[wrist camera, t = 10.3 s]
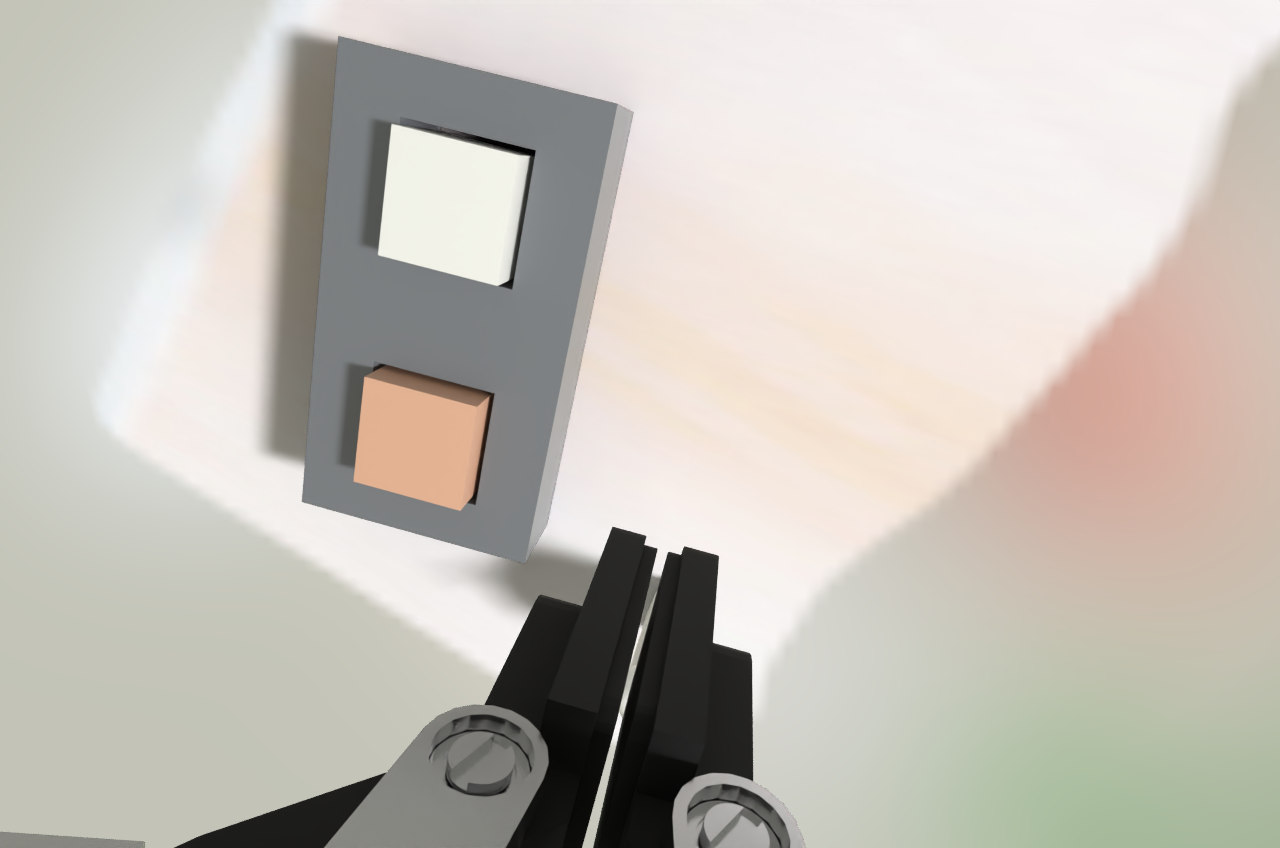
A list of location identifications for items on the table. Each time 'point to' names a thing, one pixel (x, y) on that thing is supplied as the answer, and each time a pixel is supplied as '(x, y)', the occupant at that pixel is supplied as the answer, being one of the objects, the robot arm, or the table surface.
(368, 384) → the clay key
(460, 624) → the table surface
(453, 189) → the white square block
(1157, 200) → the table surface
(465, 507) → the key panel
